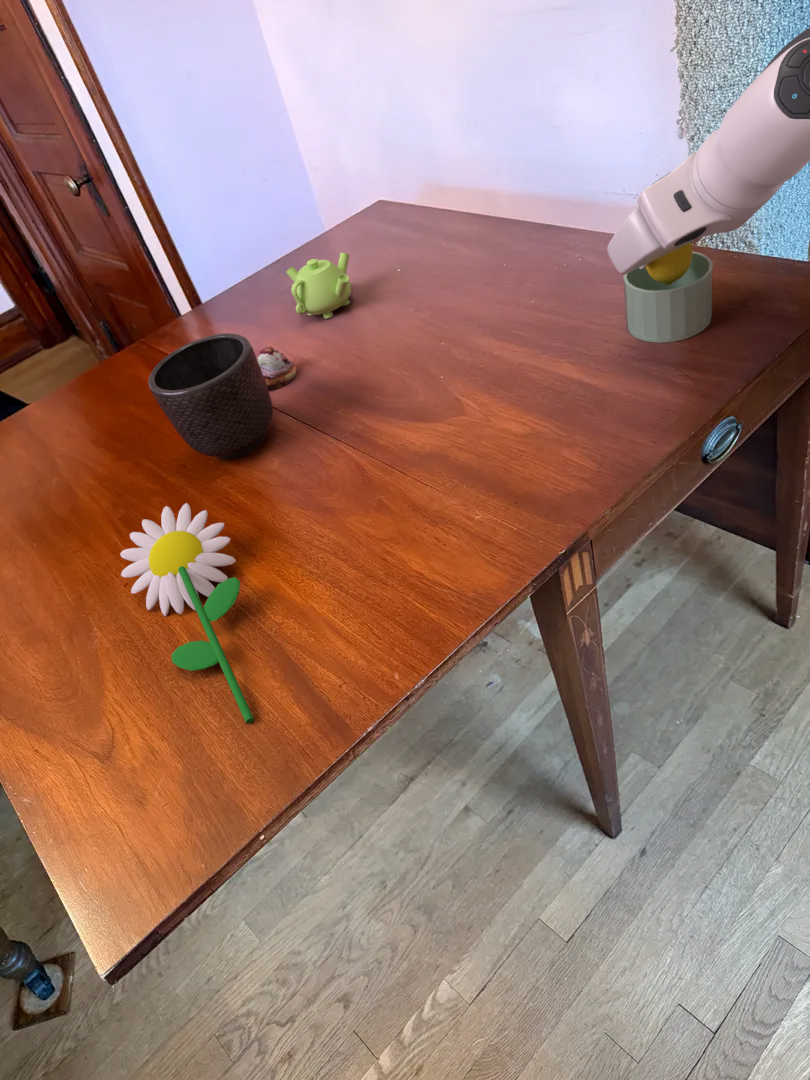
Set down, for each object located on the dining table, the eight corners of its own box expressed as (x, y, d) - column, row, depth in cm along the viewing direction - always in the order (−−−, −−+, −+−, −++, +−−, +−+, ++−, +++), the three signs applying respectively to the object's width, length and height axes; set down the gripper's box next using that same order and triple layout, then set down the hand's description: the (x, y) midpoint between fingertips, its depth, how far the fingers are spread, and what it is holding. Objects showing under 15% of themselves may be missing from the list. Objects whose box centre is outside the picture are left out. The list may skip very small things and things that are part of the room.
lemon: (636, 288, 95) (633, 227, 90) (669, 270, 96) (668, 208, 91) (667, 300, 91) (666, 237, 86) (702, 281, 92) (702, 217, 87)
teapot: (295, 332, 124) (276, 284, 118) (298, 301, 132) (281, 256, 126) (359, 314, 122) (343, 265, 116) (359, 284, 131) (344, 237, 125)
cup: (729, 312, 95) (731, 260, 90) (672, 351, 92) (671, 299, 88) (664, 293, 102) (663, 244, 98) (610, 329, 99) (606, 280, 95)
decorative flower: (320, 696, 71) (219, 510, 90) (302, 673, 67) (201, 484, 86) (202, 771, 69) (125, 565, 88) (177, 751, 66) (102, 541, 84)
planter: (250, 479, 96) (207, 396, 88) (173, 470, 103) (125, 391, 94) (305, 414, 104) (270, 332, 96) (229, 409, 111) (190, 332, 102)
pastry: (306, 367, 114) (295, 338, 111) (276, 396, 110) (263, 367, 107) (269, 362, 118) (257, 334, 115) (238, 390, 114) (225, 362, 111)
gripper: (789, 121, 79) (721, 194, 93) (628, 197, 77) (583, 261, 90) (818, 172, 79) (746, 238, 93) (657, 250, 76) (608, 306, 90)
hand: (664, 250), depth 91 cm, fingers closed on lemon, 5 cm apart
